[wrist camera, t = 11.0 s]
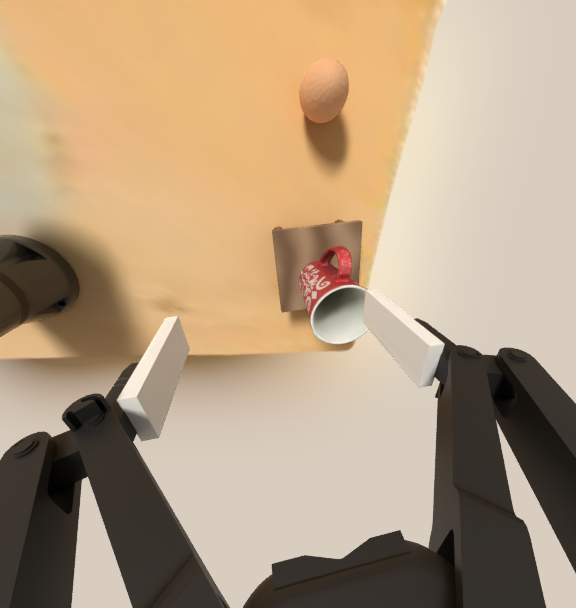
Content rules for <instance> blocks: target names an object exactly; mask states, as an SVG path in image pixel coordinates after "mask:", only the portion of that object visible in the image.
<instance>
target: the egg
mask: <svg viewBox="0 0 576 608" xmlns="http://www.w3.org/2000/svg"><path fill="white" fill-rule="evenodd" d="M348 90H349V82H348V75H347V72H346V69H345V68H344V66H343V65H342V63H341V62H340V61H338V60H336V59H334V58H331V57H324V58H321V59H319V60H317V61H316V62H314V63H313V64H312V65H311V66H310V67H309V68H308V70H307V71H306V73H305V75H304V77H303V79H302V82H301V86H300V104H301V107H302V110H303V112H304V114H305V115H306V116H307V118H308V119H310V120H311V121H313V122H316V123H326V122H328V121H331V120H332V119H333V118H335V117H336V116H337V115H338V114H339V113H340V111H341V110H342V108H343V106H344V104H345V102H346V99H347V96H348Z"/></svg>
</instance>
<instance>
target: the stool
mask: <svg viewBox="0 0 576 608" xmlns="http://www.w3.org/2000/svg"><path fill="white" fill-rule="evenodd" d="M272 234H273V243H274V252H275V260H276V269H277V278H278V287H279V296H280V304H281V311H282V312H288V311H296V310H303V309H307V308H306V305H305V302H304V299H303V295H302V293H301V289H300V286H299V276H300V273H301V271H302V270H303V269H304V267H305V266H307V265H308V264H309V263H311V262H314V261H317V260H320V259H321V257H322V255H323V254H324V252H325V251H326V250H327V249H328V248H330V247H333V246H344V247H346V248H347V249H348V250H349V252H350V254H351V257H352V272H351V276H350V279H352V280H353V281H355V282H356V283H357V284H359V268H360V252H361V236H362V221H359V220H358V221H349V222H344V221H341V220H337V221H336V222H335V223H332V224H323V225H314V226H305V227H296V228H287V229H282V228H281V227H276V228H275V229H274V230H272ZM330 263H331V264H333V265H334V266H335V267H336V268H337V269H338V259H337V256H336V254H335V255H334V256H333V258H332V259H331V262H330Z"/></svg>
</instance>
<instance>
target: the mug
mask: <svg viewBox="0 0 576 608" xmlns="http://www.w3.org/2000/svg"><path fill="white" fill-rule="evenodd" d="M335 254H336V256H337V259H338V269H337V268H336V267H335V266H334V265H333V264H331V263H330V262H331V259H332V258H333V256H334V255H335ZM351 272H352V257H351V254H350V252H349V250H348V249H347V248H346V247H344V246H333V247H330V248H328V249H327V250H326V251H325V252H324V254H323V255H322V257H321V259H320V260H317V261H314V262H311V263H309V264H308V265H307V266H305V267H304V269H303V270H302V271H301V273H300V276H299V286H300V289H301V293H302V295H303V299H304V302H305V305H306V308H307V311H308V315H309V318H310V325H311V328H312V331H313V332H314V334H315V335H316V336H317V337H318V338H319V339H320V340H322V341H324V342H327V343H331V344H344V343H348V342H351V341H354V340H356V339H358V338H359V337H361V336H362V335H363V334H365V333H366V332H367V331H368V330H369V329H368V328H367V327H366V326H365V324H364V323H363V313H364V303H365V293H366V290H368V289H366V288H364V287H362V286H360V285H358V284H357V283H356V282H355V281H353V280H352V279H350V276H351Z"/></svg>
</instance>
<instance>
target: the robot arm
mask: <svg viewBox="0 0 576 608" xmlns="http://www.w3.org/2000/svg"><path fill="white" fill-rule="evenodd" d="M78 292H79V285H78V281H77V278H76V275H75V273H74V271H73V270H72V268H71V267H70V265H69V264H68V263H67V262H66V261H65V260H64V259H63V258H62V257H61V256H60V255H59V254H58V253H56V252H55V251H54V250H52V249H51V248H49V247H48V246H46V245H44V244H42V243H40V242H38V241H35V240H32V239H29V238H26V237H22V236H16V235H2V236H0V337H1V336H3V335H5V334H6V333H8V332H10V331H11V330H13V329H15V328H16V327H18V326H20V325H21V324H25V323H30V322H34V321H38V320H42V319H46V318H50V317H53V316H56V315H58V314H60V313H62V312H63V311H65V310H66V309H68V308H69V307H71V306H72V305H73V304H74V302H75V301H76V299H77V297H78ZM363 323H364V324H365V326H366V327H367V328H368V329H369V330H370V331H371V333H372V334H373V335H374V336H375V337H376V338H377V340H378V341H379V342H380V343H381V344H382V345H383V347H384V348H385V349H386V350H387V351H388V352H389V354H390V355H391V356H392V357H393V358H394V360H395V361H396V362H397V363H398V364H399V365H400V366H401V368H402V369H403V370H404V371H405V372H406V374H407V375H408V376H409V377H410V378H411V379H412V380H413V382H414V383H415V384H416V385H417V386H418V387H419V388H420V387H425V386H431V385H432V383H433V380H434V377H436V378H437V379H438V380H439V381H440V384H439V387H438V390H437V393H436V396H435V397H436V398H438V408H437V409H438V410H437V432H436V433H437V434H436V458H435V481H434V506H433V525H432V531H431V536H430V542H429V549H428V548H426V547H424V546H422V545H420V544H417V543H414V542H411V541H407V540H404V538H403V536H402V534H401V531H400V530H399V531H395V532H392V533H388V534H384V535H380V536H376V537H372V538H370V539H368V540H367V541H366V542H364V543H363V544H362V545H360V546H359V547H358V548H356V549H355V550H353V551H352V552H351V553H350V554H348V555H347V556H345V557H344V558H342V559H332V558H323V557H314V556H306V555H305V556H300V557H297V558H293V559H289V560H285V561H282V562H278V563H274V564H272V575H270V576H269V577H268V578H266V579H265V580H264V581H263V582H262V583H261V584H260V585H259V586H258V587H257V588H256V589H255V591H254V592H253V593H252V594H251V596H250V597H249V599H248V600H247V602H246V603H245V605H244V606H243V608H546V605H545V601H544V597H543V592H542V588H541V583H540V579H539V574H538V570H537V566H536V561H535V557H534V552H533V548H532V543H531V539H530V535H529V532H528V529H527V526H526V524H525V523H524V521H523V520H521V519H520V518H518V517H516V515H515V513H514V510H513V506H512V501H511V496H510V491H509V485H508V480H507V475H506V470H505V465H504V459H503V454H502V450H501V444H500V439H499V434H498V429H497V423H496V420H497V422H498V424H499V426H500V428H501V430H502V432H503V434H504V436H505V438H506V440H507V442H508V444H509V445H510V447H511V449H512V451H513V453H514V455H515V457H516V459H517V461H518V463H519V465H520V467H521V469H522V471H523V472H524V474H525V476H526V478H527V480H528V482H529V484H530V486H531V488H532V490H533V492H534V494H535V495H536V497H537V499H538V501H539V503H540V505H541V507H542V509H543V511H544V513H545V515H546V517H547V519H548V521H549V523H550V524H551V526H552V528H553V530H554V532H555V534H556V536H557V538H558V540H559V541H560V543H561V546H562V548H563V549H564V551H565V553H566V555H567V557H568V559H569V561H570V563H571V565H572V567H573V569H574V571H575V573H576V404H575V403H574V401H573V400H572V399H571V398H570V397H569V396H568V395H567V394H566V393H565V392H564V390H563V389H562V388H561V387H560V386H559V385H558V384H557V383H556V381H554V379H553V378H552V377H551V376H550V375H549V374H548V373H547V372H546V370H545V369H544V368H543V367H542V366H541V365H540V364H539V363H538V362H537V360H536V359H535V358H533V357H532V356H531V355H530V354H528V353H526V352H524V351H522V350H519V349H514V348H502V349H500V350H499V352H498V354H497V356H494V355H482V354H481V353H480V352H479V351H477V350H475V349H473V348H471V347H467V346H462V345H455V344H454V343H453V342H451V341H450V340H449V339H447V338H446V337H445V336H443V335H442V334H441V333H439V332H438V331H437V330H436V329H434V328H432V327H431V326H430V325H429V324H428V323H426V322H424V321H422V320H420V319H413V318H412V317H410V316H409V315H408V314H407V313H405V312H404V311H403V310H402V309H400V308H399V307H398V306H397V305H395V304H394V303H393V302H391V301H390V300H389V299H388V298H386V297H385V296H384V295H383V294H382V293H380V292H379V291H378V290H376V289H371V290H366V293H365V303H364V313H363ZM188 351H189V346H188V343H187V340H186V337H185V335H184V332H183V329H182V326H181V323H180V320H179V317H178V316H175V317H167V318H166V319H165V320H164V322H163V324H162V325H161V327H160V329H159V330H158V332H157V334H156V335H155V337H154V339H153V340H152V342H151V344H150V345H149V347H148V349H147V350H146V352H145V354H144V355H143V357H142V359H141V361H140V362H138V363H132V364H131V365H129V366H128V367H127V368H126V369H125V370H124V371H123V372H122V374H121V375H120V377H119V378H118V380H117V381H116V383H115V384H114V387H112V389H111V390H110V392H109V393H108V395H107V396H106V398H104V396H102V395H101V394H91V395H87V396H85V397H83V398H80V399H79V400H77V401H76V402H74V403H72V404H71V405H70V406H69V407H68V408H67V409H66V410H65V412H64V413H63V415H62V420H63V421H64V422H65V424H66V425H67V426H68V427H69V428H70V430H69V431H67V432H64V433H62V434H60V435H57V436H54V437H51V436H50V435H49V434H48V433H46V432H37V433H34V434H31V435H29V436H27V437H25V438H23V439H21V440H20V441H18V442H17V443H16V444H14V445H13V446H12V447H11V448H10V449H9V450H7V452H5V454H4V455H3V457H2V458H1V460H0V608H71V603H72V591H73V579H74V578H73V577H74V567H75V553H76V543H77V530H78V519H79V507H80V494H81V482H82V479H84V478H86V477H88V478H89V480H90V484H91V487H92V489H93V493H94V495H95V498H96V501H97V504H98V507H99V510H100V513H101V516H102V519H103V522H104V525H105V528H106V530H107V534H108V537H109V539H110V542H111V545H112V548H113V551H114V554H115V557H116V560H117V563H118V566H119V568H120V572H121V575H122V577H123V580H124V583H125V586H126V589H127V592H128V595H129V598H130V601H131V604H132V607H133V608H230V607H229V605H228V604H227V602H226V601H225V599H224V597H223V595H222V594H221V592H220V591H219V589H218V587H217V586H216V584H215V582H214V581H213V579H212V577H211V576H210V574H209V572H208V570H207V569H206V567H205V565H204V564H203V562H202V560H201V558H200V557H199V555H198V553H197V551H196V550H195V548H194V546H193V544H192V543H191V541H190V539H189V538H188V536H187V534H186V532H185V531H184V529H183V527H182V526H181V524H180V522H179V520H178V519H177V517H176V516H175V513H174V512H173V510H172V508H171V507H170V505H169V503H168V501H167V500H166V498H165V496H164V495H163V493H162V491H161V490H160V488H159V486H158V484H157V482H156V481H155V479H154V477H153V476H152V474H151V472H150V470H149V469H148V467H147V465H146V464H145V462H144V460H143V458H142V457H141V455H140V453H139V451H138V450H137V448H136V446H135V445H134V443H133V441H134V438H135V436H136V434H137V435H138V436H139V438H140V439H141V441H145V440H150V439H155V438H159V436H160V433H161V430H162V427H163V424H164V421H165V419H166V415H167V413H168V410H169V407H170V404H171V401H172V398H173V395H174V392H175V389H176V386H177V384H178V380H179V378H180V375H181V372H182V369H183V366H184V363H185V360H186V357H187V354H188Z"/></svg>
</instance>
